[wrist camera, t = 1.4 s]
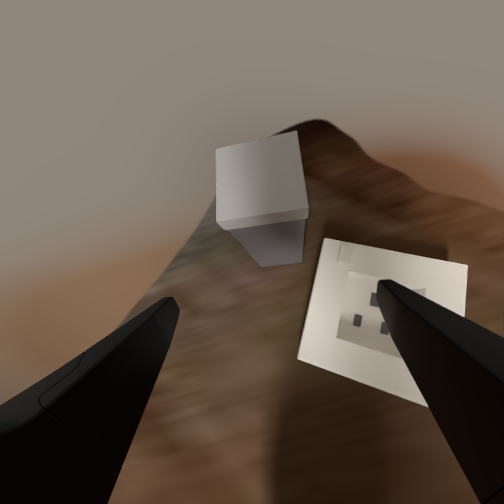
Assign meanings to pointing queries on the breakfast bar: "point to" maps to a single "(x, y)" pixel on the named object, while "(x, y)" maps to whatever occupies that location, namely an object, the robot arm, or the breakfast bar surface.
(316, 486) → the breakfast bar surface
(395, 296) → the robot arm
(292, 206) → the grey tall block
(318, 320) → the socket
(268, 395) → the breakfast bar surface
